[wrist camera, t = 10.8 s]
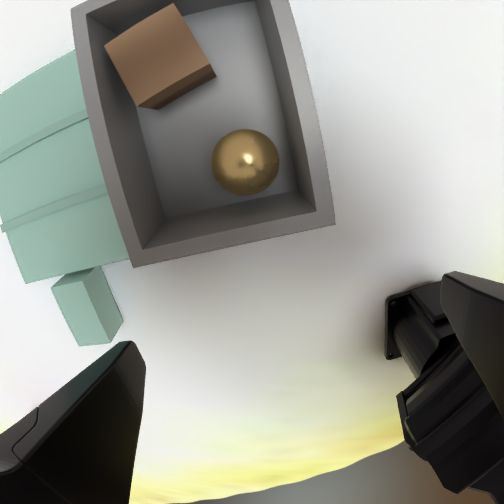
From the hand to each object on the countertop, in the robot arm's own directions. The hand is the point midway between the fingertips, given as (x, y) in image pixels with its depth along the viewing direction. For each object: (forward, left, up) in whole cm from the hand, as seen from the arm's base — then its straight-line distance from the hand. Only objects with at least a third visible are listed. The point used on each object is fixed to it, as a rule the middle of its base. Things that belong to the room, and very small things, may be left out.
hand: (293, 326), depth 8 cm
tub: (+7, +2, -13) cm, 15 cm away
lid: (+4, +14, -13) cm, 20 cm away
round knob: (+3, 0, -12) cm, 13 cm away
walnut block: (+10, +3, -12) cm, 16 cm away
